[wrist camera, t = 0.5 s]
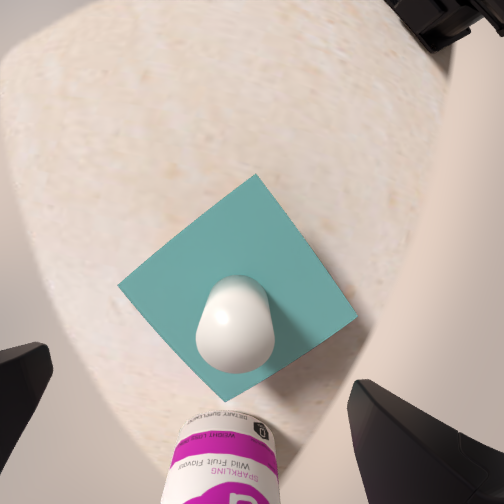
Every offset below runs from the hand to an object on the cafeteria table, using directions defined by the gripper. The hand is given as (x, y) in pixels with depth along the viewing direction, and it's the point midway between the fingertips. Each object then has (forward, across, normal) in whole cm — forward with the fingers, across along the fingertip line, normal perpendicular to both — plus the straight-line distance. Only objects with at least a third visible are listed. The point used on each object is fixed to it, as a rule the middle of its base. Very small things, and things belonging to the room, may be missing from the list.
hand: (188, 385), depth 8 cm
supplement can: (+13, -1, +16) cm, 20 cm away
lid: (+9, -1, +1) cm, 9 cm away
